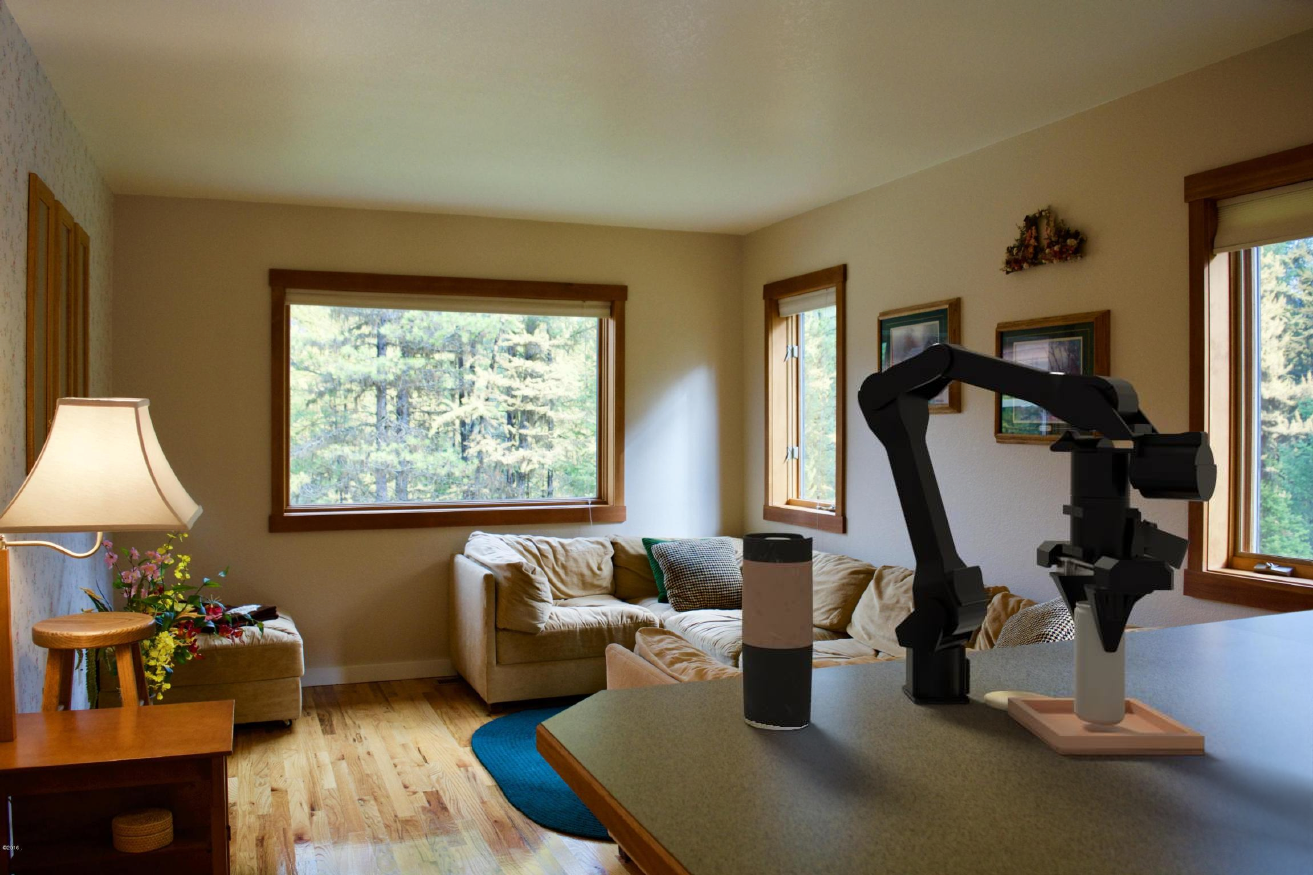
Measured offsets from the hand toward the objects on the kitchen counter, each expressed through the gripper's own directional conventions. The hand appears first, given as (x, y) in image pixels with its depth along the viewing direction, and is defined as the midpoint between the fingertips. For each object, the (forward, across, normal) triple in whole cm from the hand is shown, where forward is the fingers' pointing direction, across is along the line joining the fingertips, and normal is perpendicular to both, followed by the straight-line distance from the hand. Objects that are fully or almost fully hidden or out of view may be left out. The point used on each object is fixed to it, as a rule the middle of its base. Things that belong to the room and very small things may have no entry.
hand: (1098, 646), depth 102 cm
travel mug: (+9, +4, +33) cm, 34 cm away
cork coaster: (+9, +11, +4) cm, 15 cm away
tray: (+9, 0, 0) cm, 9 cm away
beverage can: (+8, 0, 0) cm, 8 cm away
